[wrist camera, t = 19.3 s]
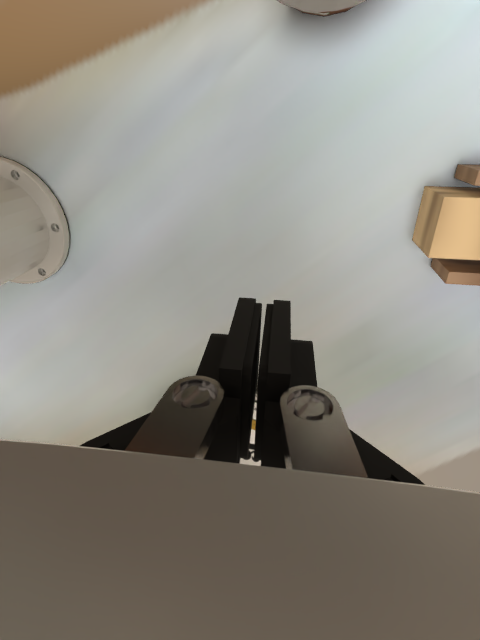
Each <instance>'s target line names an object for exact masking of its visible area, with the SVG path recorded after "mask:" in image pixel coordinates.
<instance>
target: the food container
mask: <svg viewBox="0 0 480 640" xmlns="http://www.w3.org/2000/svg"><path fill="white" fill-rule="evenodd" d="M277 1H279V2H280V3H282V4H284V5H287V6H290V7H293V8H295V9H297V10H299V11H300V12H302V13H307V14H313V15H318V16H328V15H333V14H337V13H342V12H346V11H348V10H349V9H351V8H353V7H354V6H356V5H358V4H360V3H362V2H365V1H367V0H277Z"/></svg>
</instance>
